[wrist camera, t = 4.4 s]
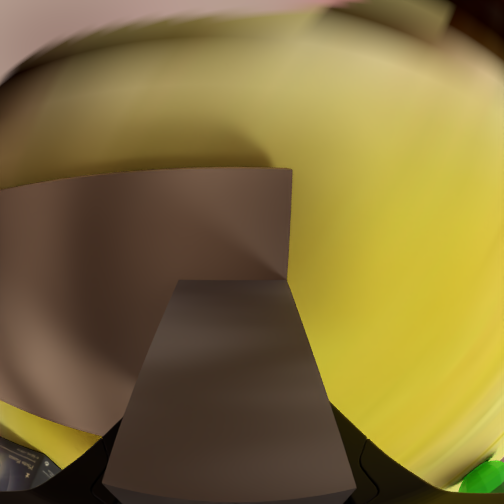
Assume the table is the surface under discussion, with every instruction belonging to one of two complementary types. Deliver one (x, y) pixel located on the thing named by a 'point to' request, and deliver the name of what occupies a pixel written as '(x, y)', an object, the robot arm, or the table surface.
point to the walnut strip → (169, 333)
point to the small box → (23, 467)
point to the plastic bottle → (485, 479)
